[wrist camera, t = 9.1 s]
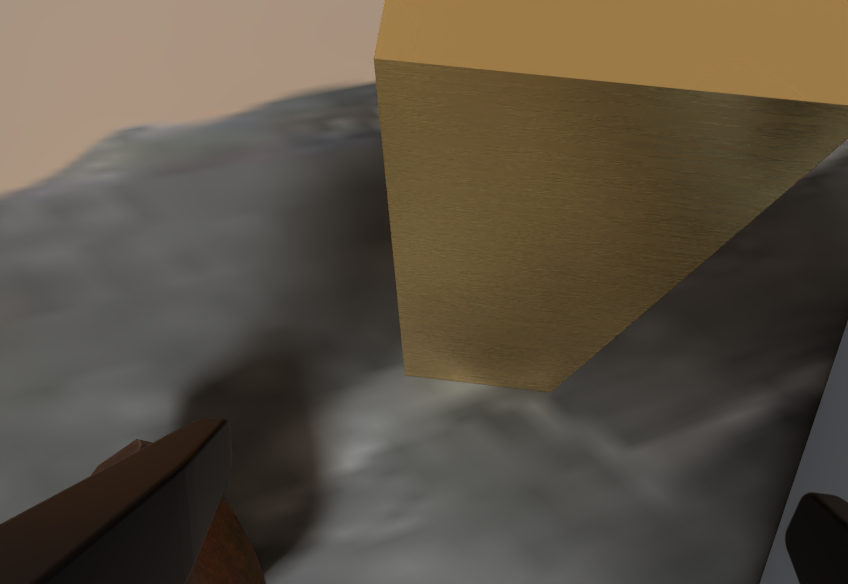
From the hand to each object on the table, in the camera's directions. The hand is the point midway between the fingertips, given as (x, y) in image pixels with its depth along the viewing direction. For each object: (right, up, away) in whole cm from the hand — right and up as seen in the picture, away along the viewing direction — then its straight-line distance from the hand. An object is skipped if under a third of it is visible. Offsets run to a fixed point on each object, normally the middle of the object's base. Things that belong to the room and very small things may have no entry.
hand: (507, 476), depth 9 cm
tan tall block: (+1, +2, +9) cm, 9 cm away
